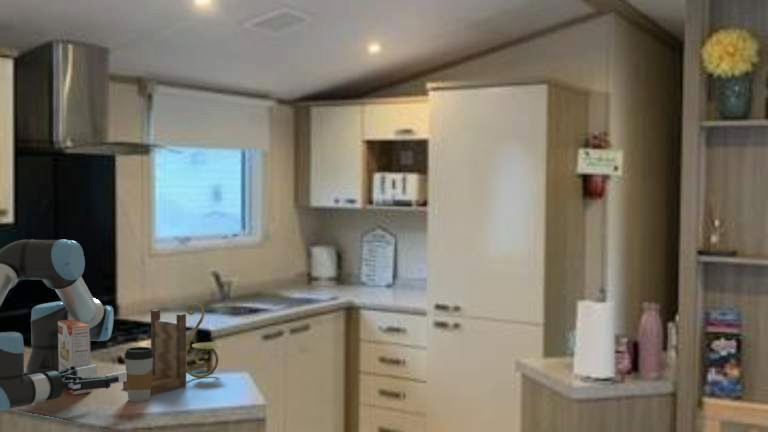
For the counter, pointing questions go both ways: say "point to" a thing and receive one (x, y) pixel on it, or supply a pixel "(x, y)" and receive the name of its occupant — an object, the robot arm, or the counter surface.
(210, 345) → the wall sconce
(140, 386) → the coffee cup
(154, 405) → the counter surface
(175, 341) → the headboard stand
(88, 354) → the cracker box
